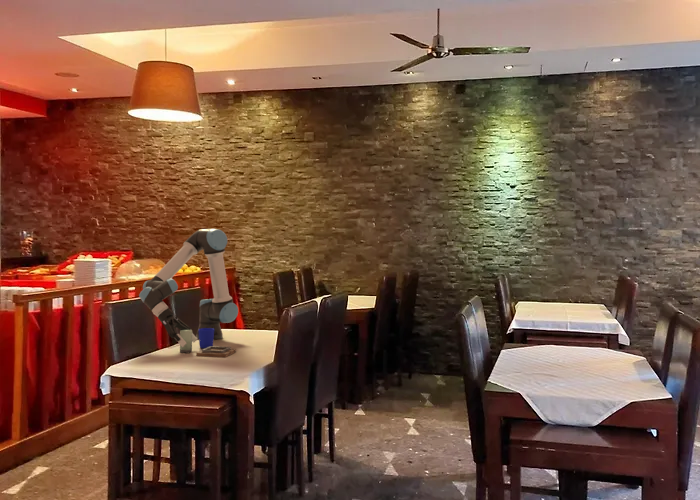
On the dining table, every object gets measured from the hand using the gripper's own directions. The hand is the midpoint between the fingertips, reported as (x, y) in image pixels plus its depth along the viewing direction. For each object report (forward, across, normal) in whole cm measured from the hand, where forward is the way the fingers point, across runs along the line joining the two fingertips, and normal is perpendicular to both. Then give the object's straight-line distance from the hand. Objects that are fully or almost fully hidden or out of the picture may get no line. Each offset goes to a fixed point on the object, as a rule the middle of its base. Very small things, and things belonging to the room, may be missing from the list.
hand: (190, 343), depth 311 cm
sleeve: (+2, 0, -5) cm, 5 cm away
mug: (+5, -16, -2) cm, 17 cm away
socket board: (+14, +2, +7) cm, 15 cm away
